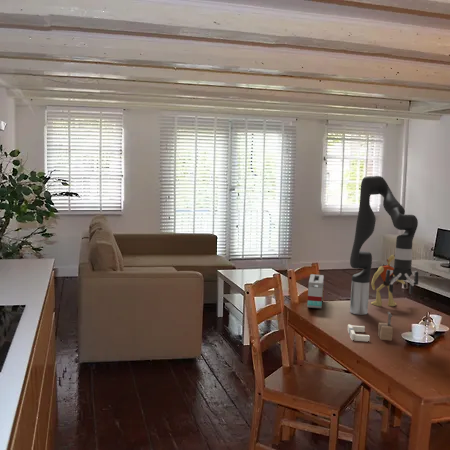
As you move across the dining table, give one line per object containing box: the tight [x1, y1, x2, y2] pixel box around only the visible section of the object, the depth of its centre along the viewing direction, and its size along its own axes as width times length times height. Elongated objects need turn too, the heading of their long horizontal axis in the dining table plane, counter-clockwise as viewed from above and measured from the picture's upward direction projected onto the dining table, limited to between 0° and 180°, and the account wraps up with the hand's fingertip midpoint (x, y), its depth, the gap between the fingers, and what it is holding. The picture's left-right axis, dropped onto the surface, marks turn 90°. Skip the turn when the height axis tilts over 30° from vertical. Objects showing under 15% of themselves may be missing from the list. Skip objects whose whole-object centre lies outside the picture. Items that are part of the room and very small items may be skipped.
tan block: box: [377, 311, 394, 341], centre depth 248 cm, size 7×5×12 cm
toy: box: [370, 254, 407, 307], centre depth 308 cm, size 23×9×30 cm, turn 100°
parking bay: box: [347, 324, 371, 342], centre depth 250 cm, size 15×8×3 cm, turn 174°
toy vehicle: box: [306, 273, 325, 309], centre depth 306 cm, size 8×30×15 cm, turn 168°
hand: (400, 292), depth 248 cm, fingers open, 8 cm apart
